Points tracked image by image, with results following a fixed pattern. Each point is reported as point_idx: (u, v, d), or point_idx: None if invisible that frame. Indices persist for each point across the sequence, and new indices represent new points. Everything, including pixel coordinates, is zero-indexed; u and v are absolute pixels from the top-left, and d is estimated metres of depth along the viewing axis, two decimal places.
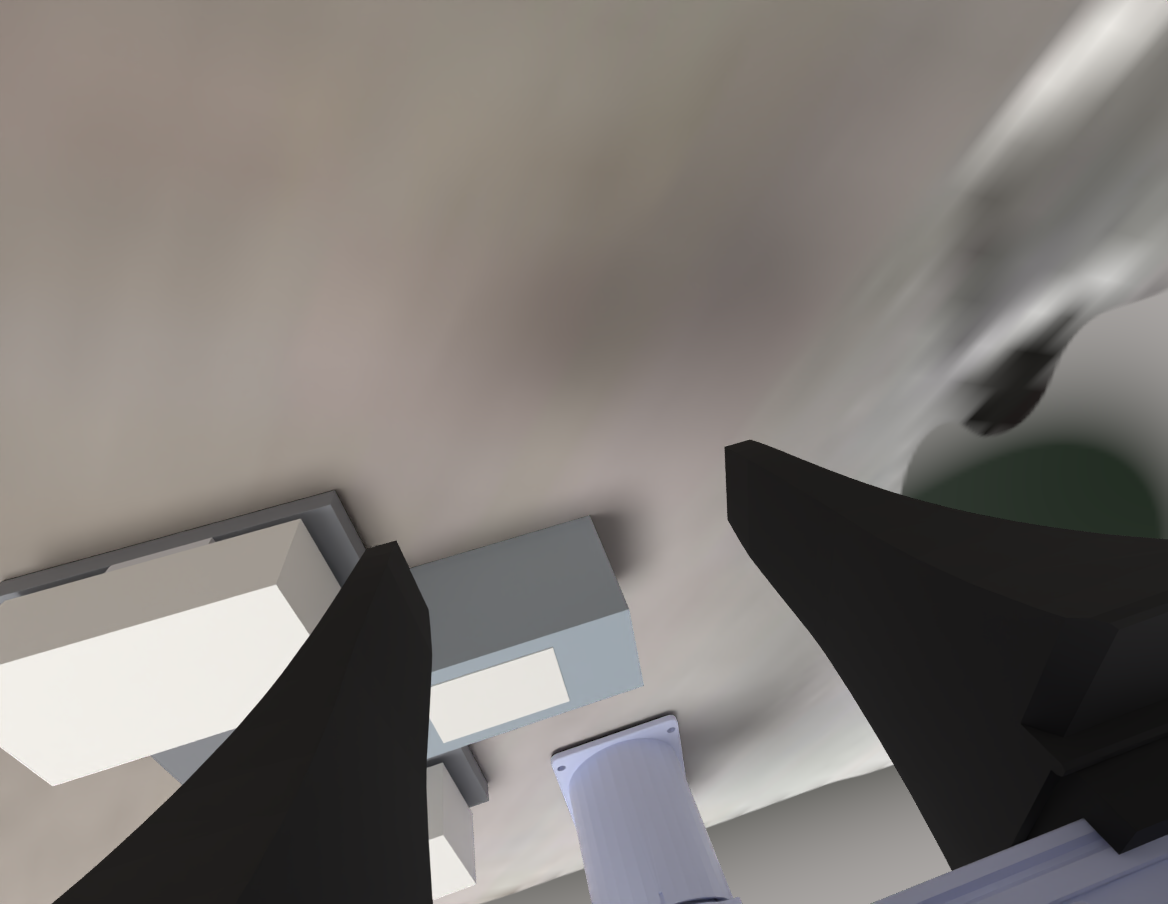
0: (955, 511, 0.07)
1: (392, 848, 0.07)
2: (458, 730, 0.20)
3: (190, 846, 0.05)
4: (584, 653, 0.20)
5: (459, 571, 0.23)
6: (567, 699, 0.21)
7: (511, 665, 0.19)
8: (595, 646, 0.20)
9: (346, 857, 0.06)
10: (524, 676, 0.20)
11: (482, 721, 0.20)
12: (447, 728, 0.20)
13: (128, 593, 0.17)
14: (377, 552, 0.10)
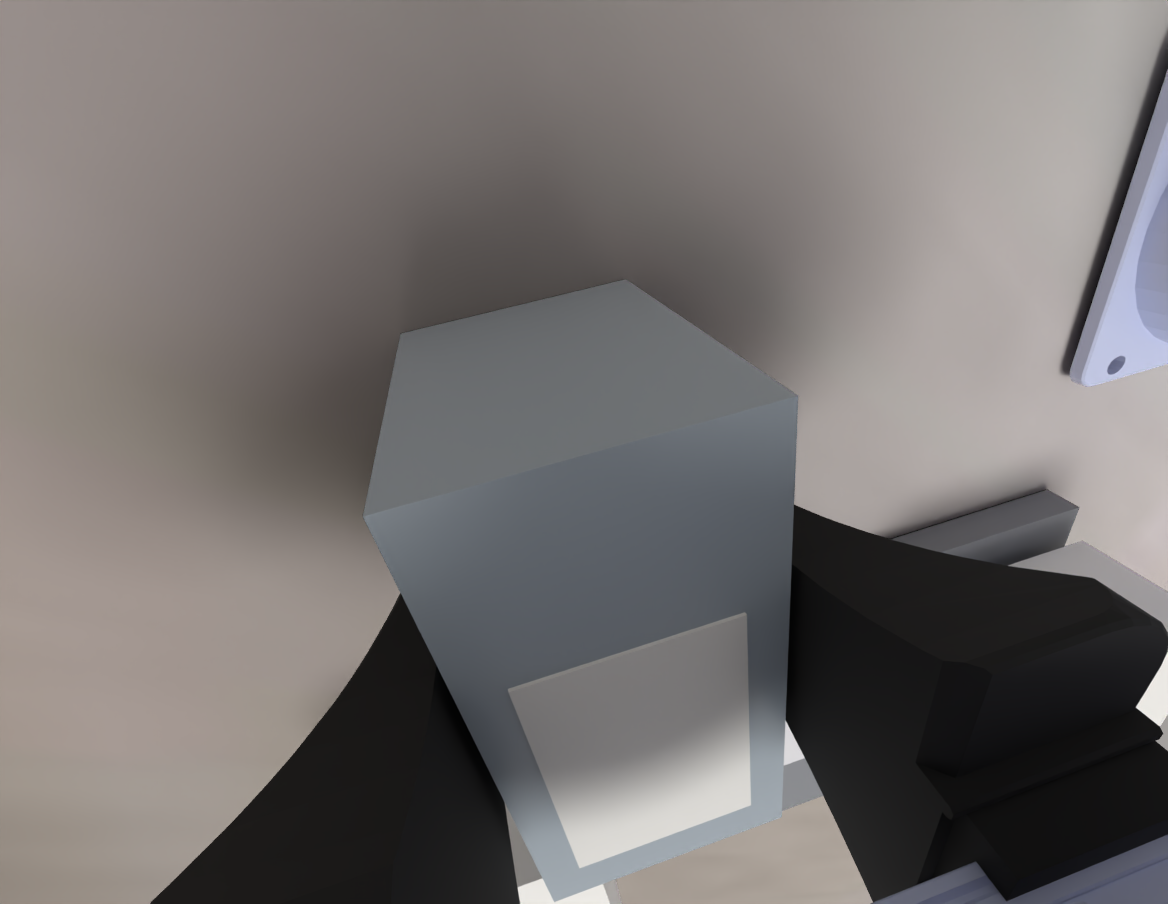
0: (874, 537, 0.07)
1: (485, 816, 0.07)
2: (725, 794, 0.09)
3: (326, 800, 0.05)
4: (559, 610, 0.06)
5: None
6: (738, 618, 0.07)
7: (552, 757, 0.07)
8: (537, 586, 0.06)
9: (458, 818, 0.06)
10: (601, 726, 0.07)
11: (721, 764, 0.09)
12: (711, 806, 0.09)
13: None
14: None
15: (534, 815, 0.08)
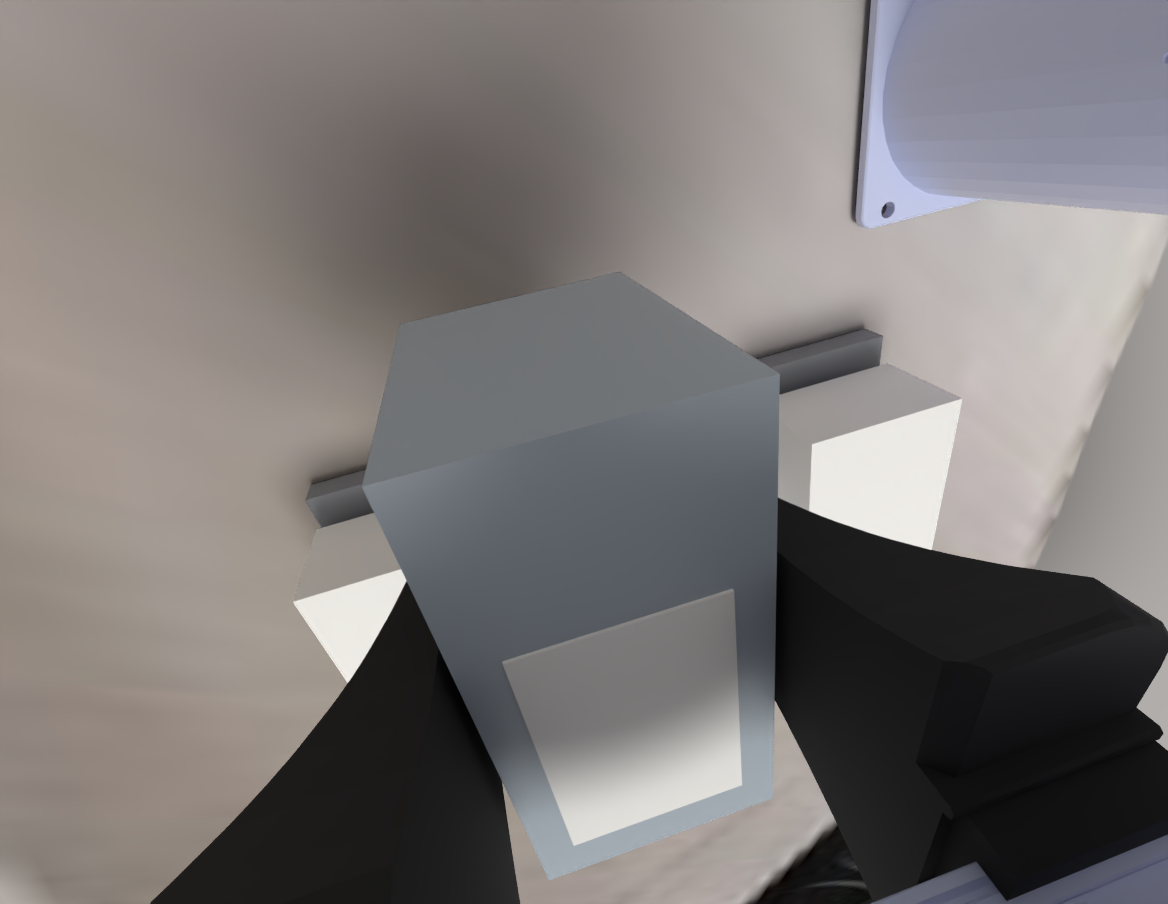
0: (874, 537, 0.07)
1: (484, 816, 0.07)
2: (716, 772, 0.09)
3: (327, 800, 0.05)
4: (552, 583, 0.06)
5: None
6: (725, 594, 0.07)
7: (545, 730, 0.08)
8: (529, 558, 0.06)
9: (458, 818, 0.06)
10: (593, 700, 0.08)
11: (712, 742, 0.09)
12: (703, 785, 0.10)
13: None
14: None
15: (529, 790, 0.08)
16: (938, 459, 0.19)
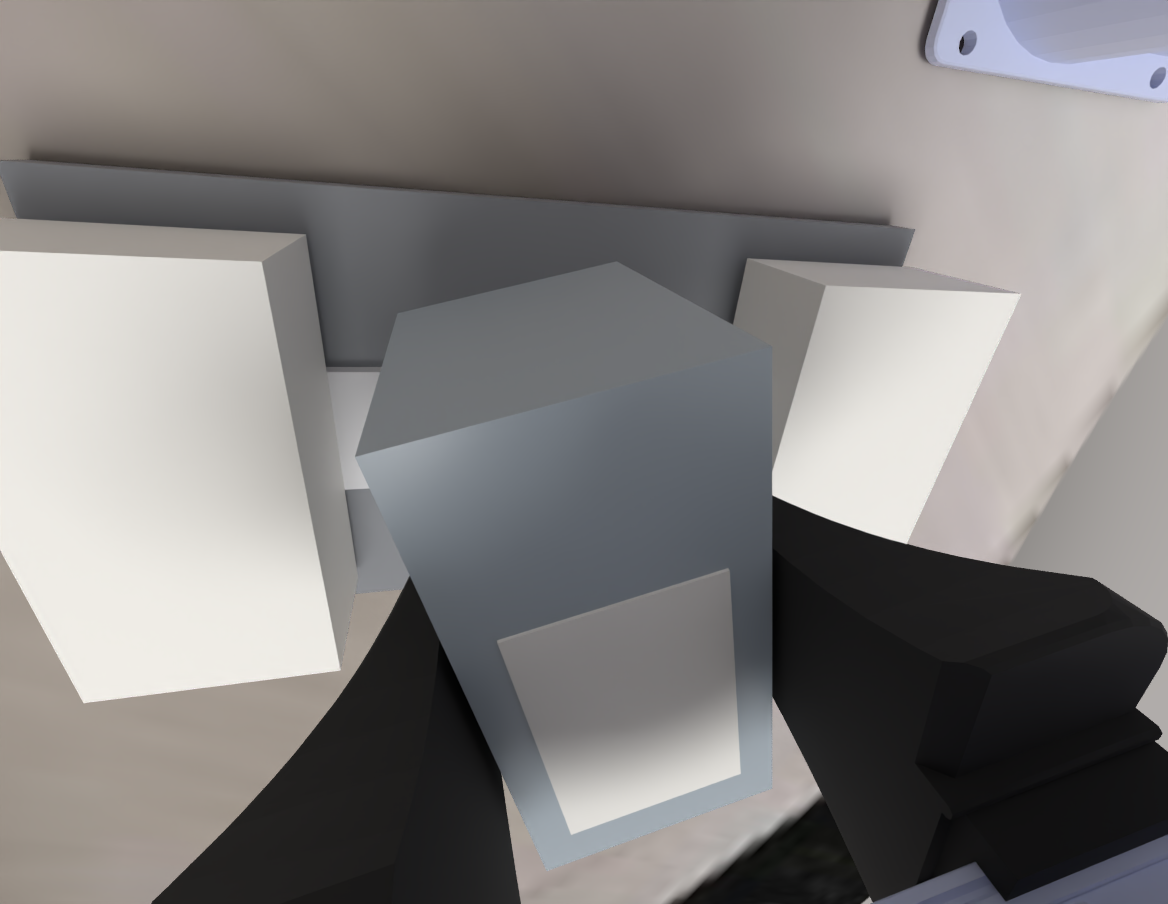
0: (873, 537, 0.07)
1: (485, 815, 0.07)
2: (714, 760, 0.09)
3: (328, 800, 0.05)
4: (546, 559, 0.06)
5: None
6: (721, 574, 0.07)
7: (542, 713, 0.08)
8: (523, 533, 0.06)
9: (459, 818, 0.06)
10: (589, 682, 0.08)
11: (709, 728, 0.09)
12: (701, 773, 0.09)
13: None
14: None
15: (525, 776, 0.08)
16: (965, 382, 0.14)
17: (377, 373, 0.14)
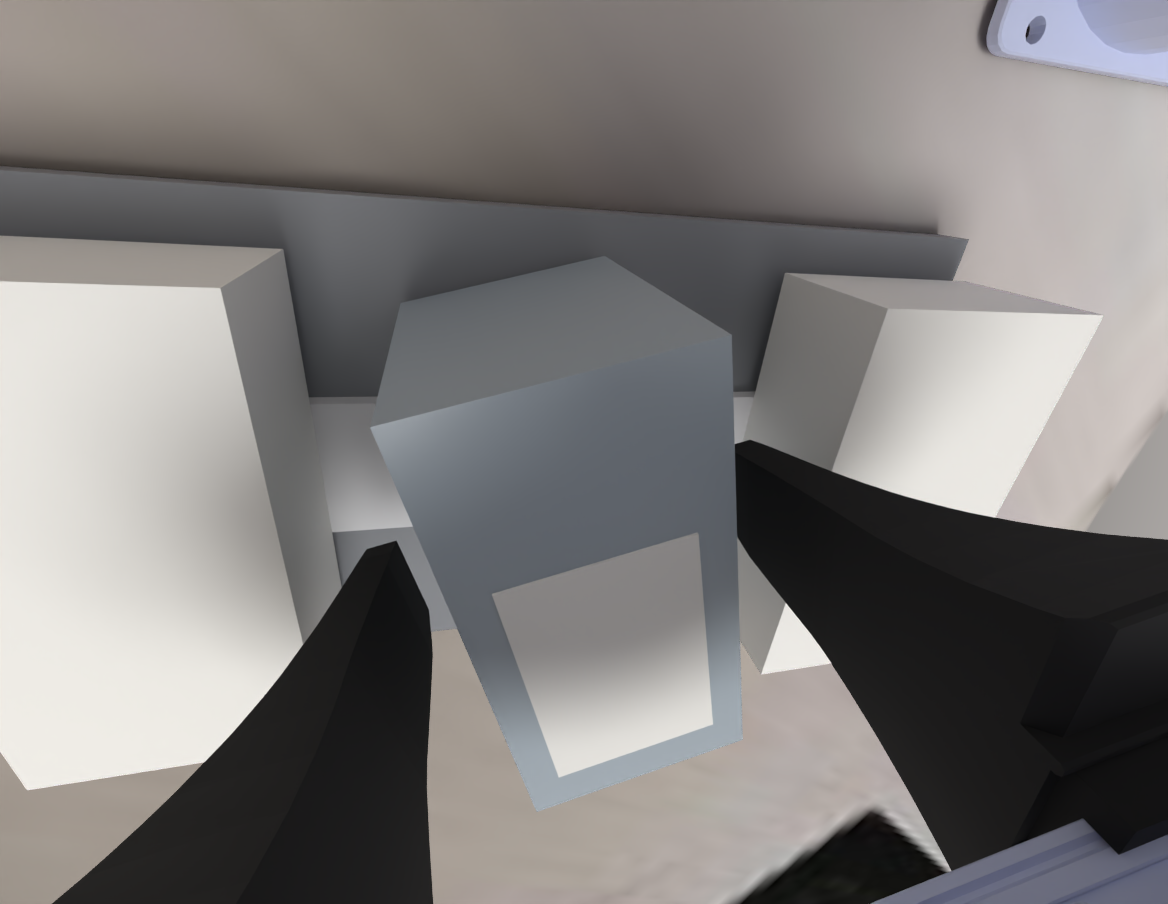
0: (955, 511, 0.07)
1: (392, 848, 0.07)
2: (689, 710, 0.10)
3: (189, 846, 0.05)
4: (535, 520, 0.07)
5: None
6: (691, 537, 0.08)
7: (531, 661, 0.09)
8: (515, 498, 0.07)
9: (346, 857, 0.06)
10: (574, 634, 0.09)
11: (683, 680, 0.10)
12: (676, 723, 0.10)
13: None
14: (378, 552, 0.10)
15: (517, 720, 0.09)
16: (1034, 413, 0.12)
17: (368, 405, 0.12)
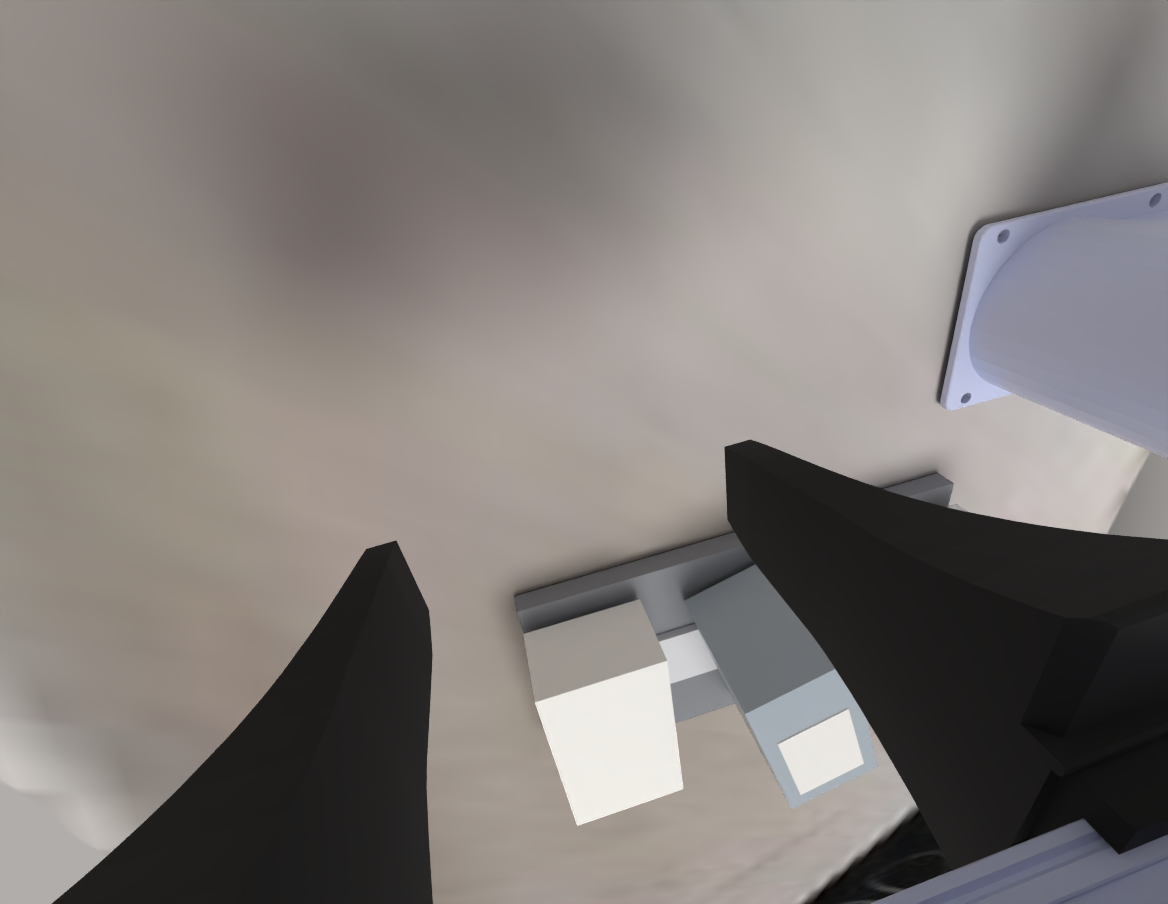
0: (955, 511, 0.07)
1: (392, 848, 0.07)
2: (852, 761, 0.24)
3: (190, 845, 0.05)
4: (791, 720, 0.21)
5: None
6: (845, 709, 0.22)
7: (790, 759, 0.23)
8: (785, 717, 0.21)
9: (346, 857, 0.06)
10: (805, 748, 0.22)
11: (848, 751, 0.23)
12: (847, 766, 0.24)
13: None
14: (378, 552, 0.10)
15: (784, 778, 0.23)
16: None
17: (670, 638, 0.26)
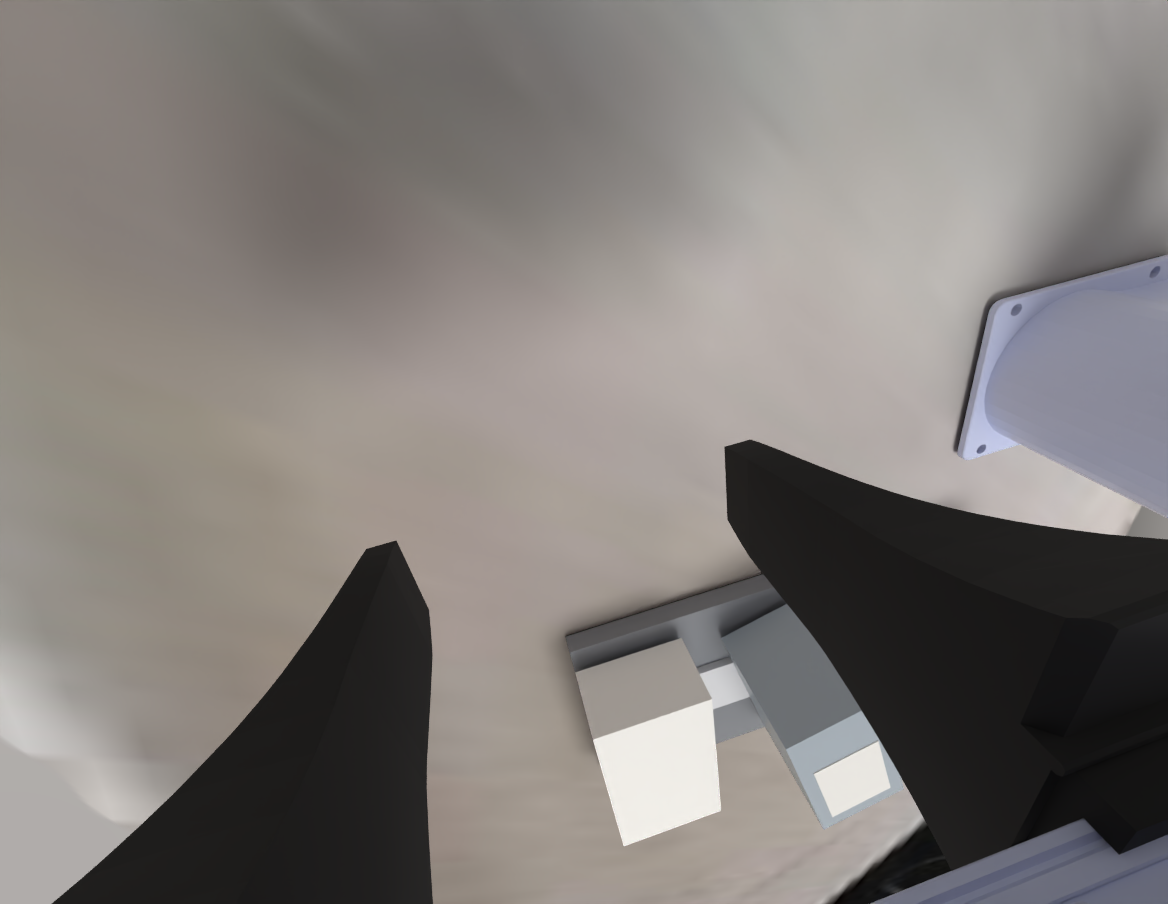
0: (955, 511, 0.07)
1: (392, 848, 0.07)
2: (880, 786, 0.26)
3: (190, 845, 0.05)
4: (827, 753, 0.23)
5: (761, 717, 0.29)
6: (875, 741, 0.24)
7: (824, 786, 0.25)
8: (821, 750, 0.23)
9: (346, 857, 0.06)
10: (838, 776, 0.24)
11: (877, 778, 0.25)
12: (875, 790, 0.26)
13: None
14: (378, 552, 0.10)
15: (818, 803, 0.25)
16: None
17: (707, 671, 0.28)
